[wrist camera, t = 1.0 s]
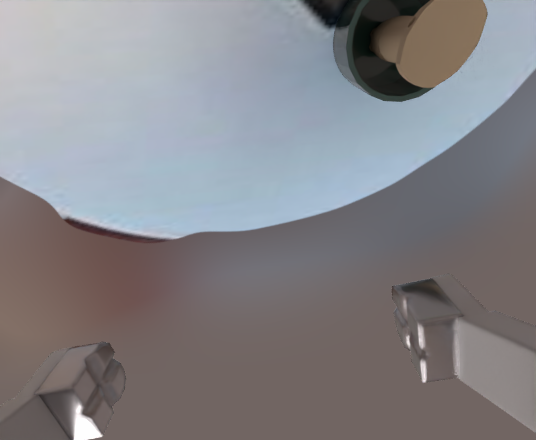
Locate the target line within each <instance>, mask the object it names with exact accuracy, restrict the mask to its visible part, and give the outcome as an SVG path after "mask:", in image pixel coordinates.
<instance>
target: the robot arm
mask: <svg viewBox="0 0 536 440" xmlns="http://www.w3.org/2000/svg"><path fill="white" fill-rule="evenodd" d="M392 299H393V301H394V303H395V304H396V306H397V308H396V310H395V311H394V317H395V323H396V327H397V331H398V334H399V337H400V339H401V341H402V343H403V345H404V347H405V348H406V349H408V350H410V351H411V360H412V363H413V365H414V366H415V368H416V370H417V372H418V374H419V376H420V378H421V380H422V382H423V383H424V382H431V381H439V380H445V379H453V378H460V380H461V381H462V382H464V383H465V384H467V385H468V386H470V387H471V388H472V389H474V390H476V391H477V392H478V393H480V394H481V395H482V396H484V397H485V398H487V399H488V400H490V401H491V402H493V403H494V404H495V405H497V406H498V407H500V408H501V409H503V410H504V411H505V412H507V413H508V414H510V415H511V416H512V417H514V418H515V419H517V420H518V421H520V422H521V423H523V424H524V425H525V426H527V427H529V428H530V429H531V430H532V431H534V432H535V433H536V326H535V325H532V324H530V323H527V322H524V321H522V320H519V319H516V318H514V317H511V316H508V315H505V314H503V313H500V312H497V311H491V312H489V311H488V310H487V309H486V308H485V307H484V306H483V305H482V304H481V303H480V302H479V301H478V300H477V299H476V298H475V297H474V296H473V295H472V294H471V293H470V292H469V291H468V290H467V289H466V288H465V287H464V286H463V285H462V284H461V283H460V282H459V281H458V280H457V279H456V278H455V277H454V276H453V275H451V274H446V275H441V276H437V277H432V278H430V279H426V280H421V281H417V282H411V283H406V284H401V285H396V286H392ZM114 353H115V352H114V350H113V348H112V347H111V345H110V343H106V342H100V343H94V344H88V345H82V346H77V347H72V348H66V349H60V350H57V351H55V352H52V353H51V354H50V355H49V356H48V358H47V359H46V360H45V361H44V363H43V364H42V365H41V366H40V368H39V369H38V370H37V371H36V372H35V374H34V375H33V376H32V377H31V379H30V380H29V381H28V382H27V384H26V385H25V386H24V387H23V389H22V390H21V391H20V392H19V394H18V395H17V396H16V397H15V398H14V399H10V400H8V401H6V402H5V403H4V404H2V405H1V406H0V440H87V439H92V438H97V437H102V436H103V435H104V432H105V430H106V428H107V426H108V424H109V422H110V420H111V417H112V415H113V413H114V412H113V408H112V406H113V405H114V404H115V403H116V402H117V401H118V400H119V399H120V398H121V396H122V394H123V391H124V389H125V381H126V376H125V371H124V368H123V367H122V365H121V363H119V362H118V361H116V360H115V359H113V356H114Z"/></svg>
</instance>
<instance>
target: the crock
mask: <svg viewBox="0 0 536 440" xmlns="http://www.w3.org/2000/svg"><path fill="white" fill-rule="evenodd" d="M429 1H430V0H350V1H349V3H348V4H347V5H346V7H345V8H344V10H343V11H342V13H341V15H340V17H339V19H338V22H337V25H336V28H335V32H334V39H333V50H334V57H335V61H336V63H337V66H338V68H339V70H340V72H341V73H342V75H343V76H344V77H345V78H346V79H347V80H348V81H349V82H350V83H351V84H352V85H354V86H355V87H357V88H359V89H360V90H362V91H364V92H365V93H367V94H369V95H371V96H373V97H376V98H378V99H381V100H383V101H395V102H402V101H406V100H410V99H413V98H417V97H420V96H421V95H423V94H425V93H426V92H428V91H429V90H431V89H433V88H434V87H433V88H423V87H420V86H417V85H414V84H412V83H410V82H408V81H407V80H406V79H404V78H403V77H402V76H401V74H400V73H399V71H398V69H397V67H396V63H393V62H388V61H385V60H383V59H381V58H379V57H378V56H377V55H376V54H375V53H374V52H372V51H371V50H370V48H369V46H370V42H371V36H370V33H371V31H372V30H373V29H374V28H377V27H378V26H379V25H380V24H381V23H383V22H384V21H386V20H388V19H391V18H393V17H397V16H414V15H415V14H416V13H417V12H418V10H419V9H420V8H422V7H423V6H424V5H425V4H426V3H428V2H429Z"/></svg>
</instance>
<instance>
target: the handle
mask: <svg viewBox="0 0 536 440" xmlns="http://www.w3.org/2000/svg"><path fill="white" fill-rule="evenodd" d="M486 18H487V9H486V6H485V3H484V2H483V0H430V1H429V2H428V3H426V4H425V5H424V6H423V7H422V8H420V9H419V10H418V12H417V13H416V14H415V15H414V16H397V17H393V18H391V19H388V20H386V21H384V22H383V23H381V24H380V25H379V26H378V27H377V28H374V29H373V30H372V31H371V33H370V36H371V42H370V46H369V48H370V50H371V51H372V52H374V53H375V54H376V55H377V56H378V57H379V58H381V59H383V60H385V61H388V62H393V63H396V67H397V69H398V71H399V73H400V74H401V76H402V77H403V78H404V79H406V80H407V81H408V82H410V83H412V84H414V85H417V86H420V87H423V88H433V87H435V86H437V85H438V84H440V83H441V82H443V81H445V80H446V79H448V78H449V77H451V76H452V75H453V74H454V73H456V72H457V71H458V70H459V69H460V67H461V66H462V65H463V64H464V63H465V61H466V60H467V59H468V57H469V56H470V55H471V53H472V52H473V50H474V49H475V47H476V46H477V44H478V42H479V39H480V37H481V34H482V31H483V28H484V25H485V22H486Z"/></svg>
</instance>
